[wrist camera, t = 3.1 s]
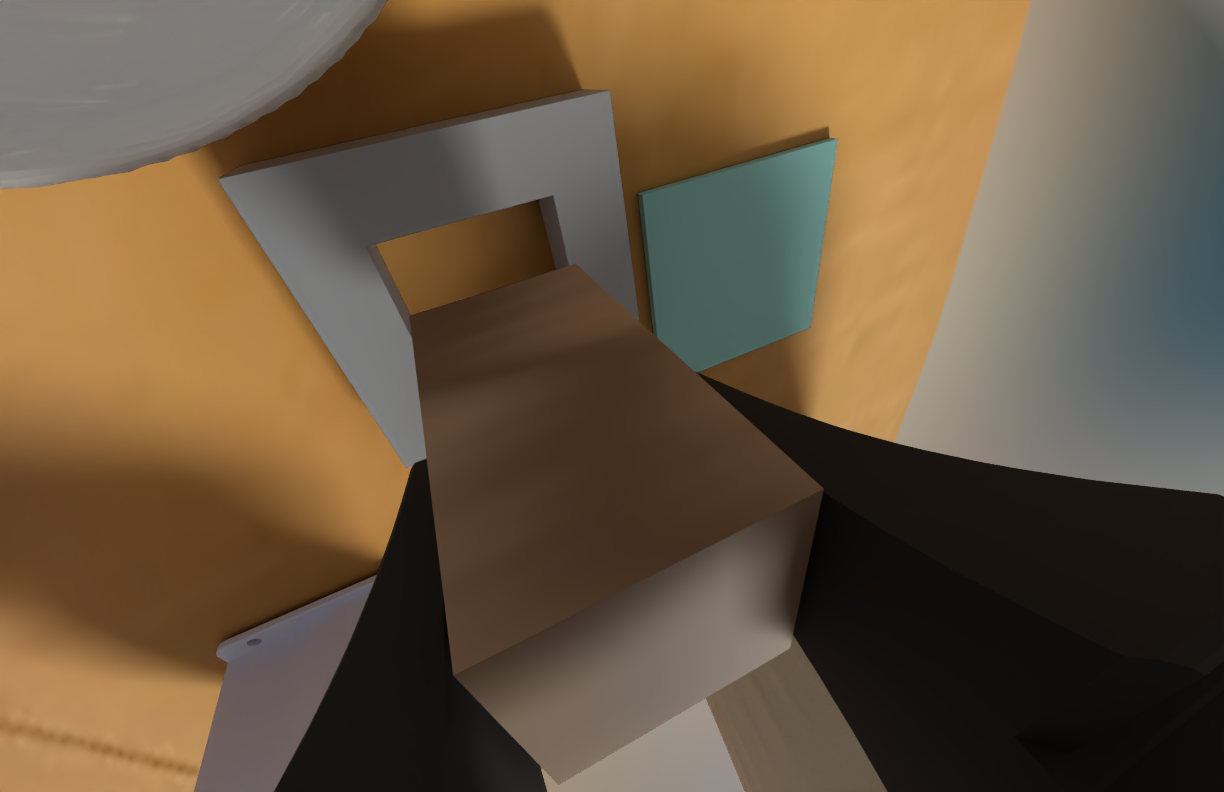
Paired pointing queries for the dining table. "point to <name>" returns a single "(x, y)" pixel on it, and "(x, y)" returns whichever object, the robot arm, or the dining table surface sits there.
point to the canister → (790, 731)
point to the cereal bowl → (152, 76)
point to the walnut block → (598, 518)
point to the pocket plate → (431, 224)
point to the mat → (737, 253)
